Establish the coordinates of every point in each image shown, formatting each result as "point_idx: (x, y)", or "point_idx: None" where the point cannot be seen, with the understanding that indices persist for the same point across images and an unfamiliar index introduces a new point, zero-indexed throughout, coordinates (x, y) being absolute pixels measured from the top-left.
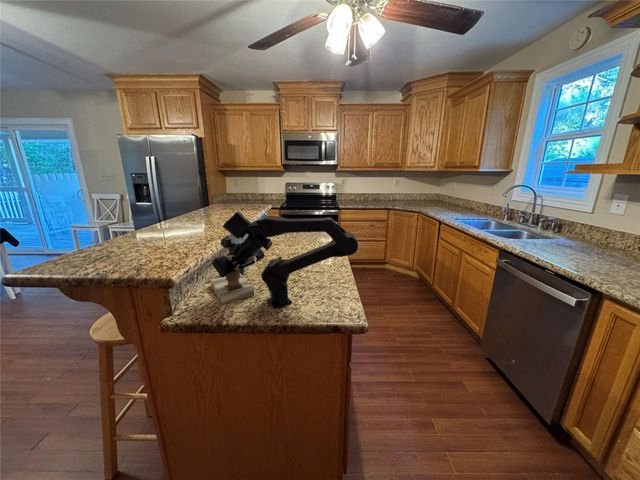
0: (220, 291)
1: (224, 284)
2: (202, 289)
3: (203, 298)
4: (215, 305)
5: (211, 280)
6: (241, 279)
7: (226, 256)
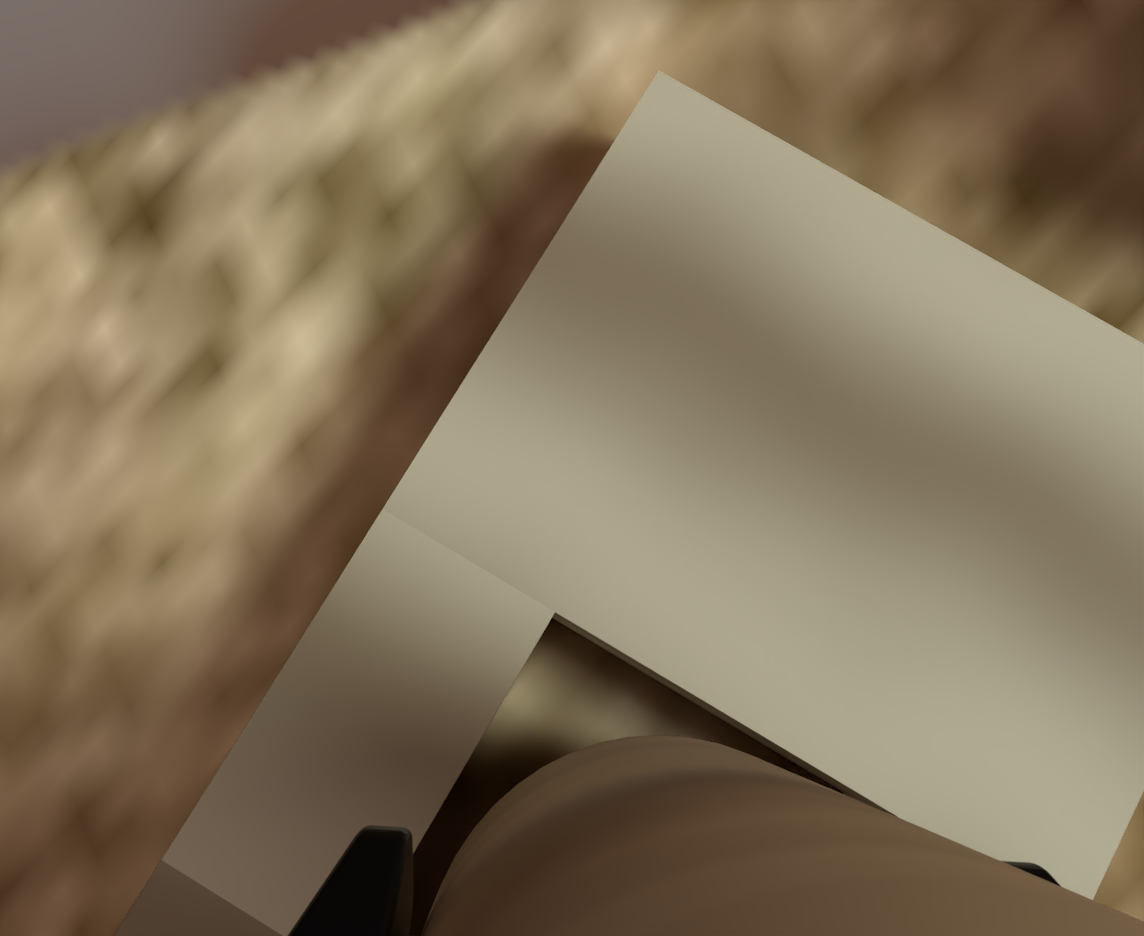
0: (271, 788)
1: (616, 573)
2: (431, 113)
3: (147, 437)
4: (16, 904)
5: (631, 118)
6: (1054, 759)
7: (968, 922)
